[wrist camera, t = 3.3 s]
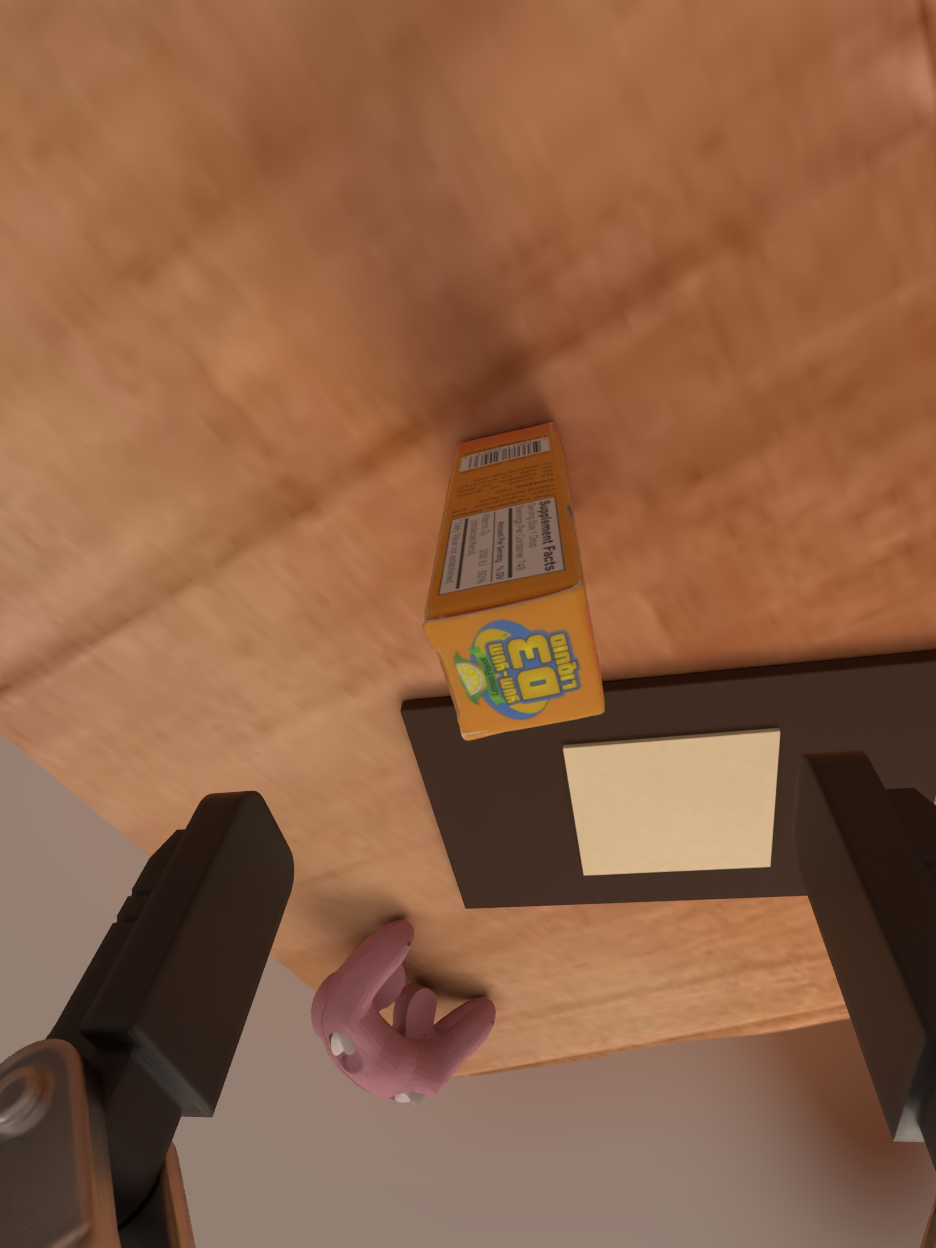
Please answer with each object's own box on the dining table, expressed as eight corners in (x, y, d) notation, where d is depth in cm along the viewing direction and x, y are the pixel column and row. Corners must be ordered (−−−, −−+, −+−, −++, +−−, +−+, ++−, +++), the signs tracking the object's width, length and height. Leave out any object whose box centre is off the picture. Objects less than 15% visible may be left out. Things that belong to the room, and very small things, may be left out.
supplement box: (584, 513, 22) (611, 729, 14) (480, 534, 23) (446, 751, 14) (565, 411, 20) (584, 590, 12) (453, 437, 21) (397, 622, 13)
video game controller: (356, 899, 38) (277, 1029, 34) (411, 916, 34) (331, 1062, 30) (451, 988, 42) (391, 1112, 38) (508, 1010, 39) (449, 1148, 35)
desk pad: (466, 898, 34) (464, 913, 33) (402, 700, 27) (398, 714, 26) (905, 880, 31) (913, 896, 30) (963, 646, 23) (975, 660, 23)
